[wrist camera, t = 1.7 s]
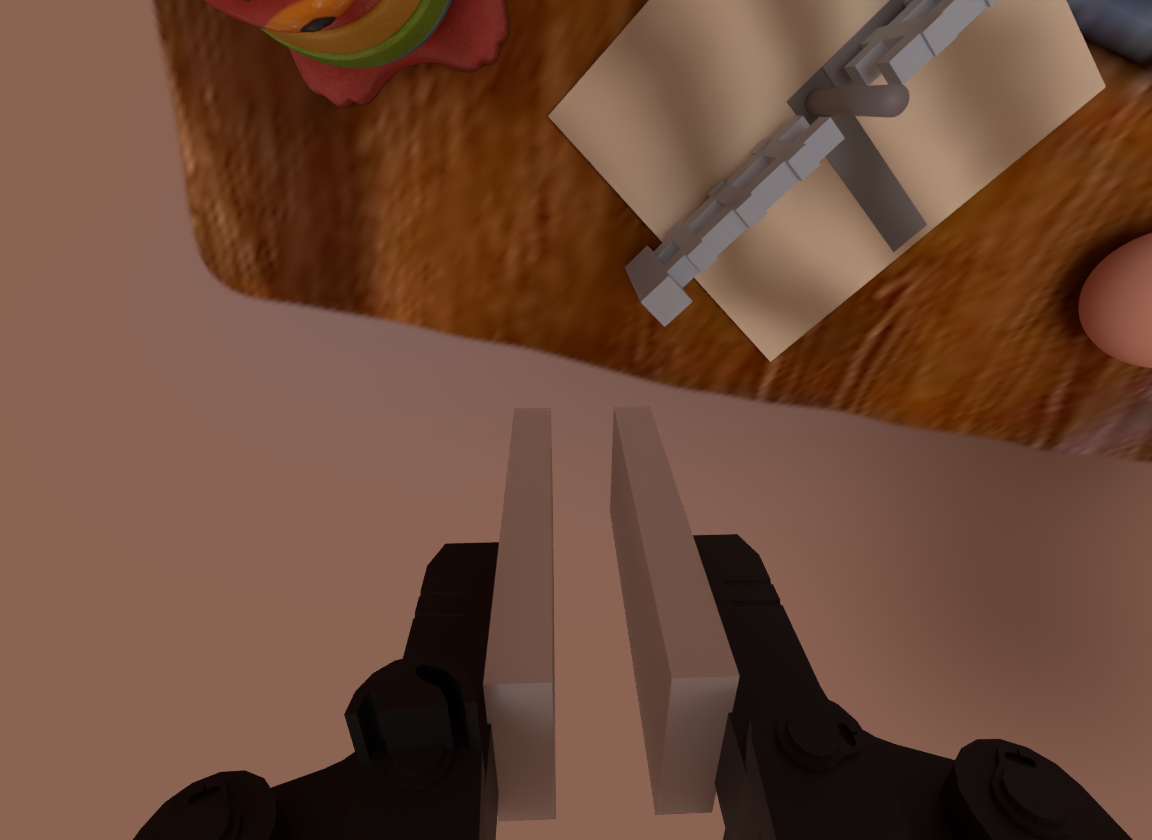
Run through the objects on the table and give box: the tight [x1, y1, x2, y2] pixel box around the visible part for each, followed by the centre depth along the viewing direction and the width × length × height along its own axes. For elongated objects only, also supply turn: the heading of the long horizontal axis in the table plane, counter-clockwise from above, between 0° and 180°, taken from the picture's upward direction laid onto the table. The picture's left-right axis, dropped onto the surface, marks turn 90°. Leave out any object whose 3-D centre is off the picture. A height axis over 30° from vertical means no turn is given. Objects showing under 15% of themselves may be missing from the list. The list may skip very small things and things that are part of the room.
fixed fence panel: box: [805, 0, 997, 118], centre depth 26 cm, size 12×2×8 cm, turn 135°
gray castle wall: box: [625, 116, 845, 327], centre depth 30 cm, size 12×2×7 cm, turn 135°
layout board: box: [548, 0, 1106, 362], centre depth 31 cm, size 22×20×1 cm
